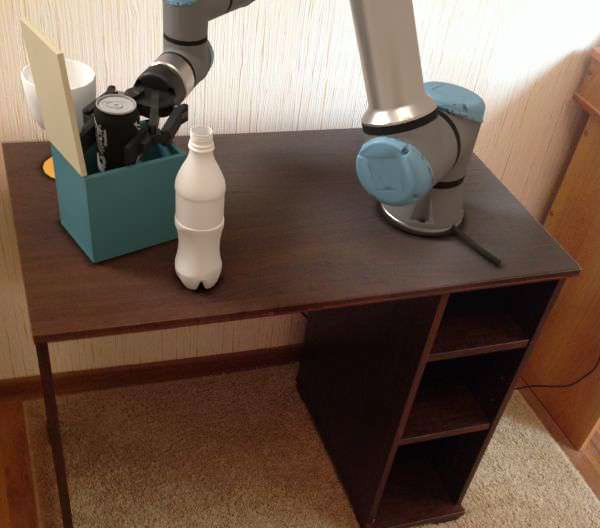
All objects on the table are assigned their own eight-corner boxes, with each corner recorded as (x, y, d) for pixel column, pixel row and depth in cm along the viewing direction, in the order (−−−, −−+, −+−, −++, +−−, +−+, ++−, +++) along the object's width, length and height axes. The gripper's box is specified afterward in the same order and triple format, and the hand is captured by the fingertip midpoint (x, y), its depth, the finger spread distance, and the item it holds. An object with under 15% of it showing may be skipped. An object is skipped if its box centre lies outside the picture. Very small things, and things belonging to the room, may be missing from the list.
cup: (89, 191, 131) (80, 96, 118) (24, 178, 131) (8, 81, 119) (112, 158, 139) (105, 65, 126) (50, 145, 139) (38, 52, 127)
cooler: (151, 199, 131) (149, 118, 121) (186, 235, 125) (187, 154, 115) (61, 223, 124) (49, 139, 113) (93, 263, 118) (85, 179, 107)
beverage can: (133, 192, 115) (129, 118, 106) (92, 183, 115) (85, 108, 107) (148, 171, 119) (145, 98, 111) (108, 162, 120) (103, 88, 111)
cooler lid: (24, 15, 99) (18, 16, 99) (63, 52, 93) (57, 54, 93) (52, 136, 113) (46, 137, 112) (87, 175, 107) (81, 177, 106)
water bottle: (198, 260, 121) (201, 112, 103) (230, 281, 119) (240, 133, 100) (165, 278, 117) (162, 127, 99) (198, 300, 114) (201, 150, 96)
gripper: (218, 121, 126) (167, 190, 111) (110, 94, 128) (44, 158, 112) (220, 77, 121) (166, 143, 105) (107, 50, 123) (37, 110, 107)
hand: (103, 151), depth 109 cm, fingers closed on beverage can, 6 cm apart
